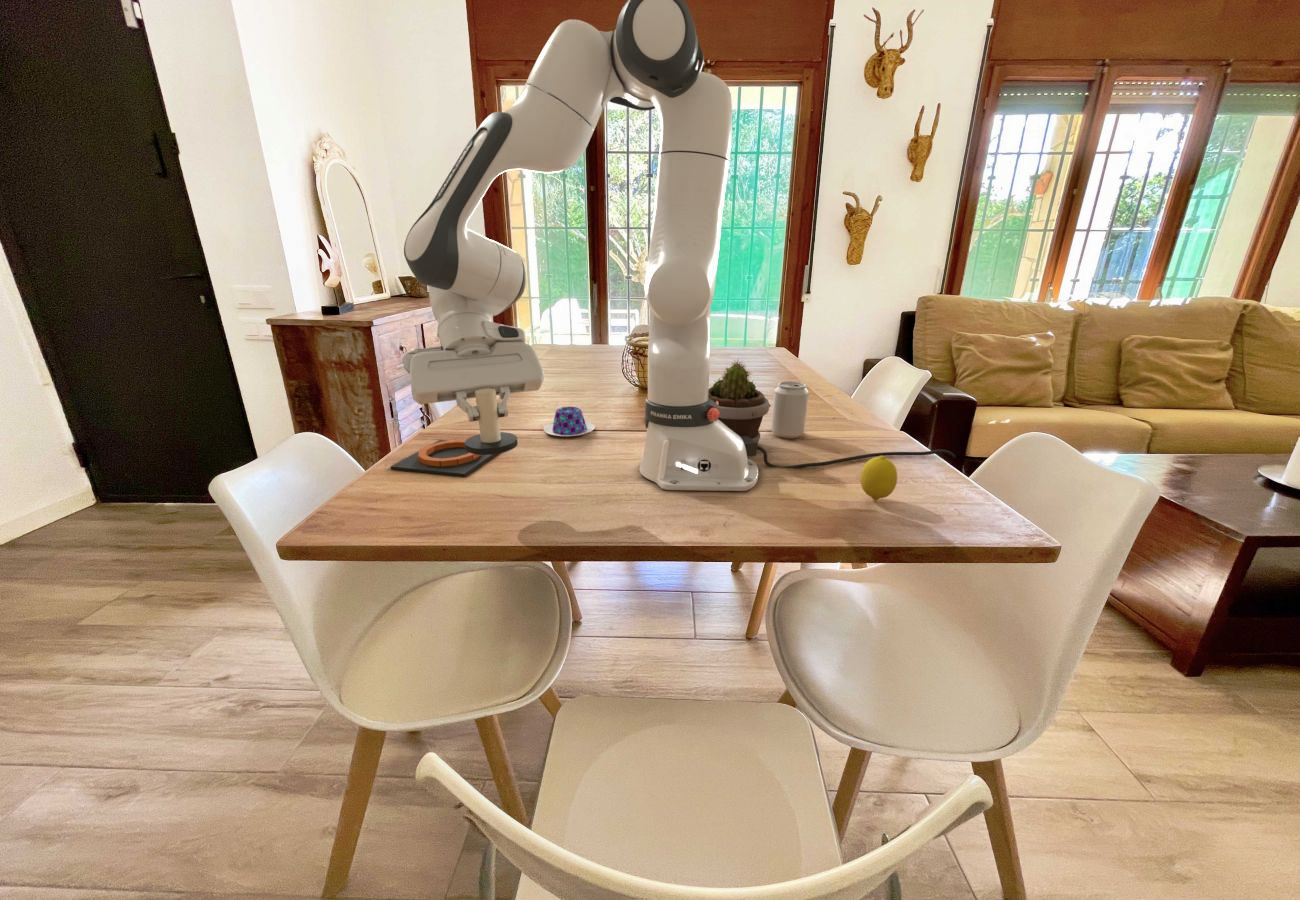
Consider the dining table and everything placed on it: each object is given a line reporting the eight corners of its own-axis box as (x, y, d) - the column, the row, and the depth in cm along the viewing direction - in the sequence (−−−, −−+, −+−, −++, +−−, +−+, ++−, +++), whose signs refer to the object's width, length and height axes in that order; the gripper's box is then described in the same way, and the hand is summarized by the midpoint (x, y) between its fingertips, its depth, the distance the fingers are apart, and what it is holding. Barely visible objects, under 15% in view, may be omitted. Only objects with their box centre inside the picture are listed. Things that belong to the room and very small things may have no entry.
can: (808, 432, 120) (813, 382, 116) (798, 441, 114) (803, 388, 110) (776, 427, 124) (781, 378, 120) (765, 436, 118) (770, 384, 114)
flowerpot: (699, 432, 120) (703, 346, 113) (767, 437, 117) (774, 349, 110) (691, 454, 107) (694, 358, 100) (766, 460, 104) (775, 362, 97)
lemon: (890, 510, 83) (898, 464, 81) (854, 502, 86) (861, 457, 83) (895, 497, 88) (903, 453, 85) (861, 490, 91) (867, 447, 88)
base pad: (506, 447, 111) (505, 440, 110) (464, 476, 96) (463, 467, 96) (440, 442, 114) (439, 434, 114) (390, 469, 100) (389, 460, 99)
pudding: (534, 436, 118) (532, 414, 116) (558, 421, 129) (556, 401, 127) (582, 441, 115) (581, 418, 113) (602, 425, 125) (602, 404, 124)
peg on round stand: (526, 439, 85) (521, 385, 82) (502, 456, 77) (495, 398, 74) (482, 436, 86) (475, 383, 83) (454, 452, 79) (446, 395, 76)
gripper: (398, 337, 77) (415, 416, 73) (533, 328, 86) (555, 398, 81) (401, 362, 82) (417, 437, 78) (528, 351, 91) (549, 418, 87)
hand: (489, 417), depth 80 cm, fingers closed on peg on round stand, 3 cm apart
